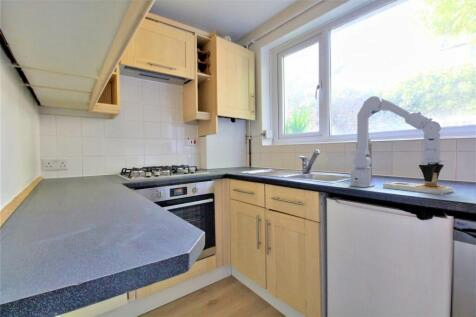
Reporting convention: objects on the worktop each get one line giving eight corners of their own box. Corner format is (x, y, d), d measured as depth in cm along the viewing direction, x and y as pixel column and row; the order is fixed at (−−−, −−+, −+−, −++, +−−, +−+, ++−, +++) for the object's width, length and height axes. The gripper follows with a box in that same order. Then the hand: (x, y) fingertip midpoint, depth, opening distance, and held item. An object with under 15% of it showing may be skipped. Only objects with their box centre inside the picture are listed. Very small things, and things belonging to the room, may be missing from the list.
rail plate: (441, 194, 92) (441, 188, 92) (383, 187, 111) (383, 182, 111) (452, 191, 98) (452, 186, 98) (395, 185, 117) (395, 181, 117)
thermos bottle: (368, 181, 133) (368, 132, 133) (354, 180, 140) (354, 133, 139) (374, 180, 138) (374, 133, 137) (360, 179, 145) (360, 134, 144)
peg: (434, 192, 97) (434, 173, 97) (423, 191, 100) (423, 172, 100) (438, 191, 99) (438, 172, 99) (427, 190, 102) (427, 172, 102)
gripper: (436, 149, 92) (435, 183, 92) (449, 149, 99) (449, 180, 100) (415, 149, 98) (415, 181, 98) (429, 149, 105) (429, 179, 106)
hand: (431, 181), depth 99 cm, fingers open, 5 cm apart
